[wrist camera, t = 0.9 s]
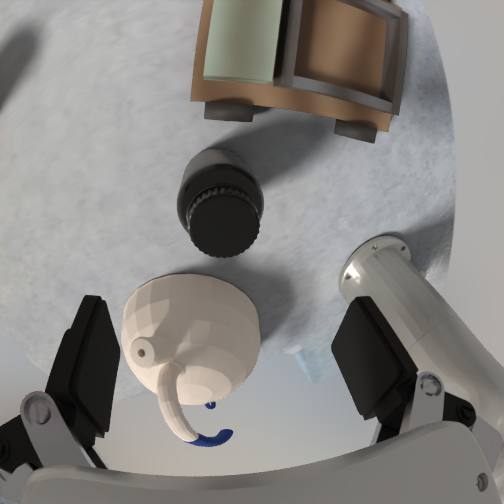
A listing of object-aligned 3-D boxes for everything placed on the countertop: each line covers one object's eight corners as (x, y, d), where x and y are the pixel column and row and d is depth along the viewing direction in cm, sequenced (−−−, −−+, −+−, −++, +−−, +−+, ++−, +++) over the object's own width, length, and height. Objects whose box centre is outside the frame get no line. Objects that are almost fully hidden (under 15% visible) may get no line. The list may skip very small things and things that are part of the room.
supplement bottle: (245, 208, 30) (268, 272, 20) (183, 207, 29) (173, 272, 19) (252, 147, 26) (281, 180, 16) (184, 145, 25) (169, 177, 15)
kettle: (223, 245, 32) (243, 380, 17) (276, 343, 43) (304, 442, 28) (95, 301, 33) (60, 413, 18) (171, 376, 45) (171, 467, 29)
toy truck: (385, 3, 18) (423, -9, 12) (370, 140, 28) (408, 155, 21) (214, -41, 14) (217, -74, 8) (191, 116, 24) (185, 121, 18)
